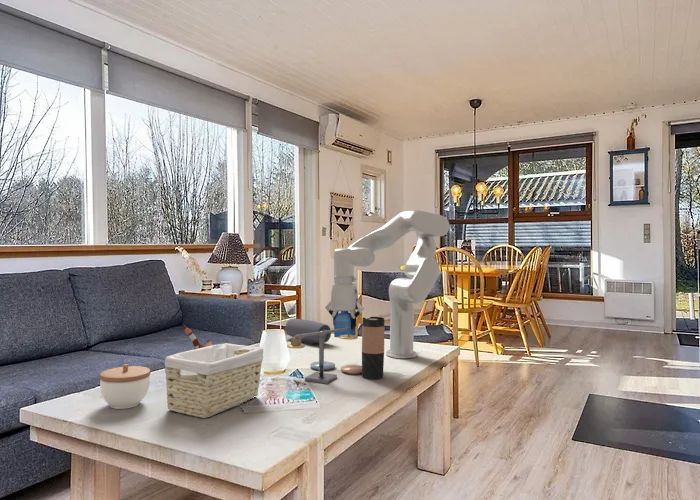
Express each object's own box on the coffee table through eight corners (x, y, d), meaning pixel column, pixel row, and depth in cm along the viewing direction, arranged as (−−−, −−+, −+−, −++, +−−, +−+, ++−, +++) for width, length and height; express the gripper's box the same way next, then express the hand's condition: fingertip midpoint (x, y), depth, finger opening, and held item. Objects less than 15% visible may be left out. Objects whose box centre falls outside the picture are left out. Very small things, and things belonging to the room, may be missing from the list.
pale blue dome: (316, 363, 184) (316, 360, 184) (338, 366, 180) (338, 363, 180) (305, 369, 175) (306, 365, 175) (328, 371, 172) (328, 368, 172)
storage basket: (222, 389, 150) (223, 341, 150) (265, 397, 143) (266, 347, 143) (160, 412, 129) (161, 356, 129) (206, 423, 122) (207, 364, 121)
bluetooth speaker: (332, 344, 220) (332, 322, 220) (316, 347, 213) (317, 324, 213) (299, 337, 236) (299, 316, 235) (283, 339, 229) (284, 318, 229)
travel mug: (382, 380, 162) (383, 320, 162) (359, 378, 164) (360, 319, 164) (385, 374, 170) (386, 317, 170) (363, 373, 171) (364, 316, 171)
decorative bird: (176, 356, 177) (193, 318, 177) (223, 375, 178) (240, 337, 179) (151, 377, 148) (171, 332, 149) (207, 400, 150) (227, 355, 150)
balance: (293, 372, 171) (294, 320, 171) (360, 380, 162) (361, 326, 161) (281, 377, 164) (282, 324, 163) (351, 387, 154) (352, 330, 154)
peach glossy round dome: (346, 367, 179) (346, 363, 179) (369, 369, 176) (369, 366, 176) (336, 372, 171) (336, 369, 171) (360, 375, 167) (360, 372, 167)
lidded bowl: (117, 416, 125) (117, 373, 125) (89, 406, 132) (90, 365, 132) (159, 402, 136) (160, 363, 136) (132, 394, 143) (132, 357, 143)
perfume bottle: (334, 337, 184) (333, 305, 184) (340, 334, 190) (340, 303, 190) (349, 338, 182) (348, 306, 182) (355, 334, 188) (355, 303, 188)
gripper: (368, 280, 186) (369, 327, 186) (327, 279, 192) (328, 325, 193) (361, 282, 179) (362, 331, 179) (319, 281, 185) (320, 328, 186)
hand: (344, 327), depth 186 cm, fingers closed on perfume bottle, 6 cm apart
